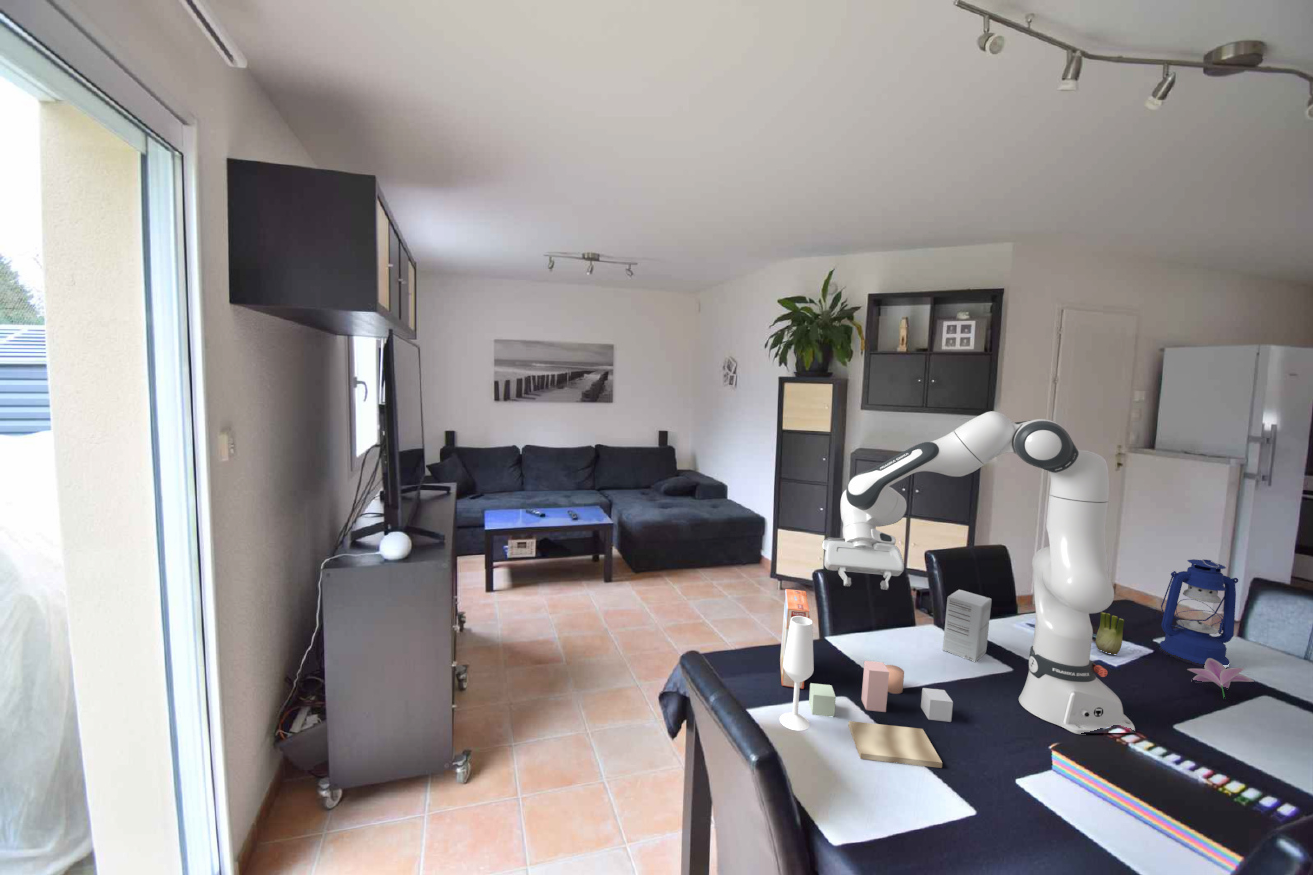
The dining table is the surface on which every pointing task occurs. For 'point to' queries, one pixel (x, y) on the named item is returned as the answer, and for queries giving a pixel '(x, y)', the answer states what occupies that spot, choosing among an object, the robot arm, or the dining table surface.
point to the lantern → (1202, 586)
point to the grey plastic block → (936, 704)
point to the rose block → (875, 686)
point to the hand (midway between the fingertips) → (866, 586)
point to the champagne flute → (798, 666)
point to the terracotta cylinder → (895, 679)
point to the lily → (1219, 674)
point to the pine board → (893, 744)
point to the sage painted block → (822, 700)
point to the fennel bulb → (1109, 634)
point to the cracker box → (792, 607)
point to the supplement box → (967, 624)
